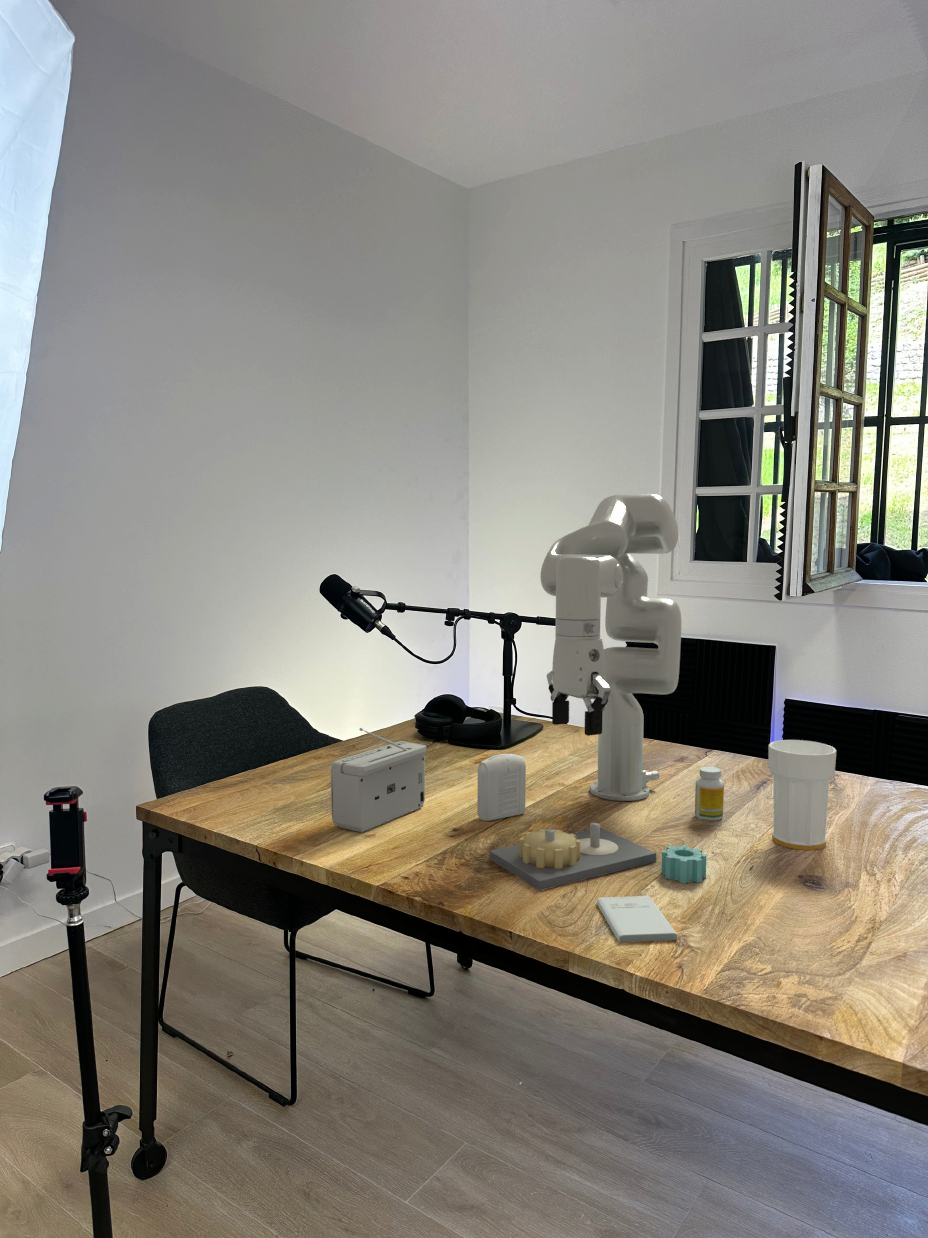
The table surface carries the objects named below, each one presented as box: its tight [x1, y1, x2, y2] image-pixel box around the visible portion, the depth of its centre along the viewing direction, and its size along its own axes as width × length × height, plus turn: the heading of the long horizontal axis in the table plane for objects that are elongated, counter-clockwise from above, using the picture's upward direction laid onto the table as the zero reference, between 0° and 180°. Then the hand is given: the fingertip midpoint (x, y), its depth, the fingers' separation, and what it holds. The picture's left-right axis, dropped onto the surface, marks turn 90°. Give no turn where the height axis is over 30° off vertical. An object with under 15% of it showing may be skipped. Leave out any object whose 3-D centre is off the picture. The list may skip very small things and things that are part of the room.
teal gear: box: [661, 845, 707, 884], centre depth 139 cm, size 7×7×4 cm
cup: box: [768, 739, 837, 851], centre depth 153 cm, size 11×11×17 cm
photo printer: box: [476, 753, 527, 822], centre depth 168 cm, size 10×4×12 cm, turn 123°
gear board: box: [489, 822, 657, 891], centre depth 145 cm, size 24×15×6 cm, turn 120°
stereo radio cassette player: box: [330, 727, 428, 834], centre depth 167 cm, size 21×8×20 cm, turn 145°
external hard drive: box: [596, 895, 678, 943], centre depth 122 cm, size 2×8×12 cm
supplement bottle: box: [694, 766, 725, 822], centre depth 167 cm, size 5×5×10 cm
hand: (576, 729), depth 145 cm, fingers open, 9 cm apart
